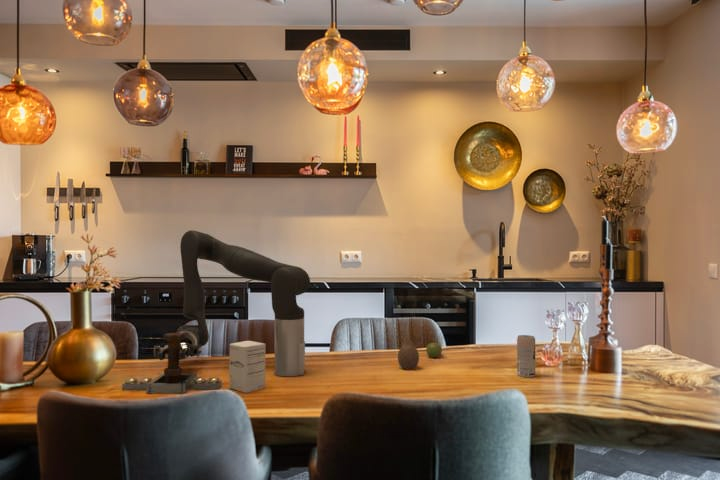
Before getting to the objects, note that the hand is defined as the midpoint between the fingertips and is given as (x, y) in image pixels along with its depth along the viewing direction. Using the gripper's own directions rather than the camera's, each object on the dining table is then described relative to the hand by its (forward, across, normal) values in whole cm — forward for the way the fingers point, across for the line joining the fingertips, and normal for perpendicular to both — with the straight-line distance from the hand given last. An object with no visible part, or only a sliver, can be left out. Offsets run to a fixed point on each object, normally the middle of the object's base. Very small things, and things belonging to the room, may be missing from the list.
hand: (170, 356), depth 146 cm
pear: (-35, +84, +10) cm, 92 cm away
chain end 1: (-3, -4, +10) cm, 11 cm away
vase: (-17, +71, +10) cm, 74 cm away
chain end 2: (-2, +4, +10) cm, 11 cm away
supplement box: (+1, +21, +10) cm, 23 cm away
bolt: (-3, 0, +10) cm, 10 cm away
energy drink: (-3, +105, +10) cm, 105 cm away
